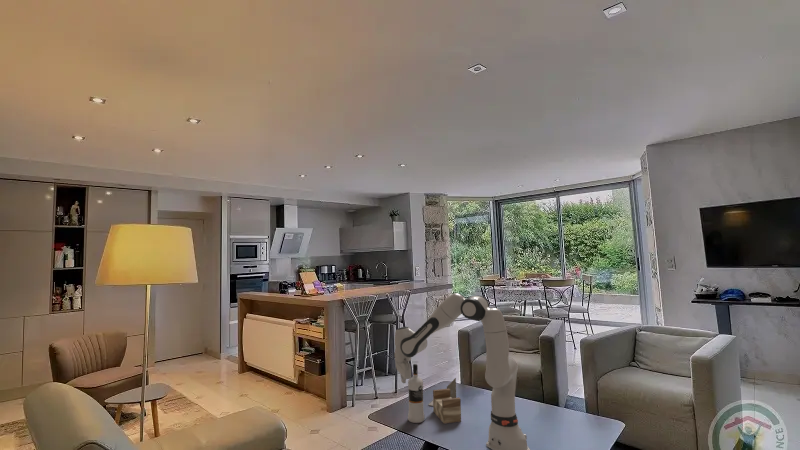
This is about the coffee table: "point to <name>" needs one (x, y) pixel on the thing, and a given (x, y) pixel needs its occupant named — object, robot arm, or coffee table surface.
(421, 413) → the vodka
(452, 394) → the laptop
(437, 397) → the cradle
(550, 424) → the coffee table surface
